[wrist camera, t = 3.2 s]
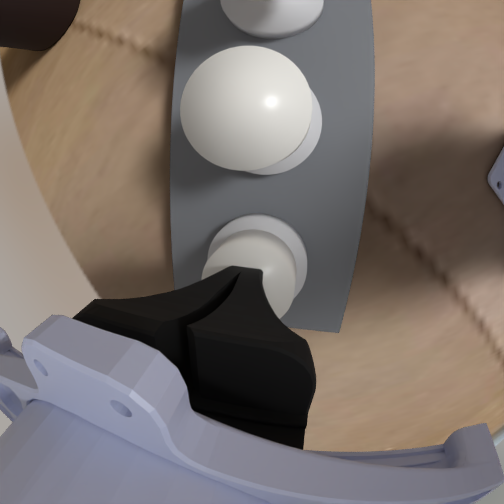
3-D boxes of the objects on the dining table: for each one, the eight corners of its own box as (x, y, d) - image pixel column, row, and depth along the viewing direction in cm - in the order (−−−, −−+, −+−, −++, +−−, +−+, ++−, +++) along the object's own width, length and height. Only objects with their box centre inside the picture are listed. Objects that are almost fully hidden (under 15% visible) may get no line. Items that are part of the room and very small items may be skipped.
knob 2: (291, 309, 14) (288, 333, 12) (215, 298, 15) (202, 319, 13) (300, 234, 13) (299, 249, 11) (215, 225, 13) (200, 238, 11)
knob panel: (336, 314, 17) (340, 343, 15) (188, 294, 19) (169, 317, 16) (361, -22, 9) (368, -46, 7) (201, -23, 11) (184, -44, 8)
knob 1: (307, 171, 10) (307, 176, 8) (200, 164, 10) (178, 168, 8) (313, 66, 8) (314, 47, 6) (205, 65, 9) (184, 50, 7)
